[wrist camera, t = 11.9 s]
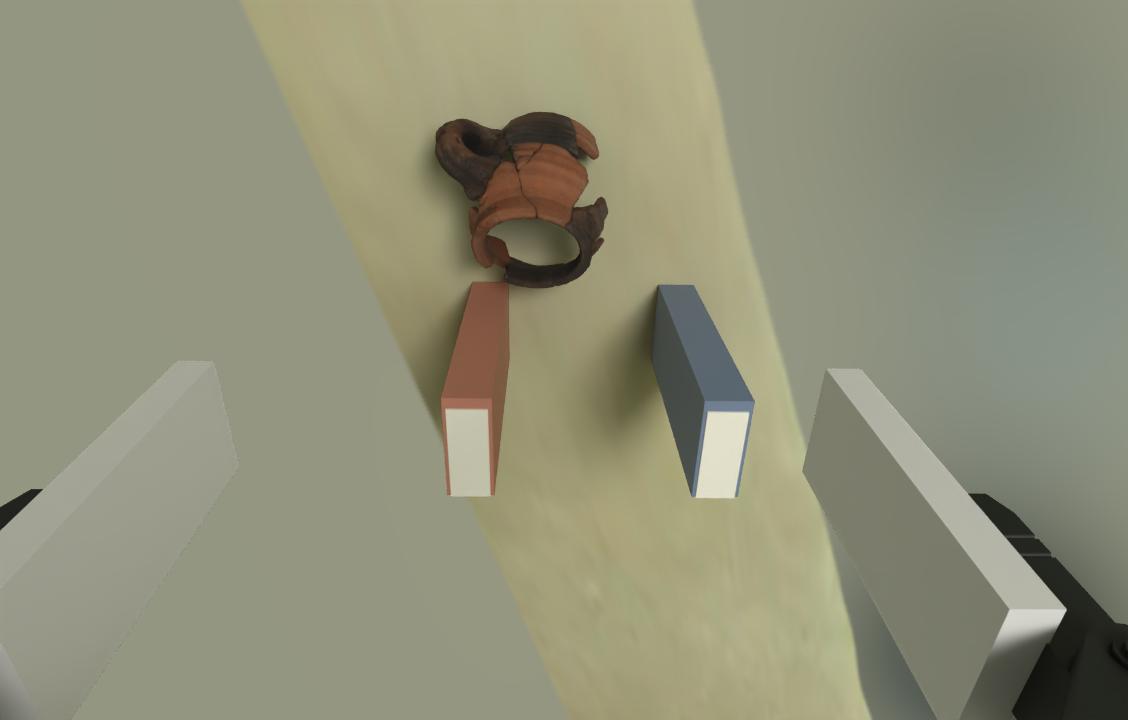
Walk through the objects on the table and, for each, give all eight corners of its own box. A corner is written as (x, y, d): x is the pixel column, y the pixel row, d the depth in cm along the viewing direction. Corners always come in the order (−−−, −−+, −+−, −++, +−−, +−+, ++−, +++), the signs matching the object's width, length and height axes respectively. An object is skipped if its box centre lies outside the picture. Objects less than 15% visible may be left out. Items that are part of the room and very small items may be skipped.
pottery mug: (640, 149, 44) (639, 244, 39) (557, 228, 50) (547, 317, 46) (479, 41, 38) (456, 138, 34) (409, 146, 45) (382, 238, 40)
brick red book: (472, 281, 48) (440, 399, 33) (508, 282, 48) (491, 399, 33) (475, 359, 50) (447, 497, 36) (509, 359, 51) (494, 498, 36)
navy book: (658, 284, 48) (705, 402, 34) (693, 285, 48) (755, 402, 34) (651, 361, 51) (691, 499, 37) (684, 361, 51) (737, 499, 37)
